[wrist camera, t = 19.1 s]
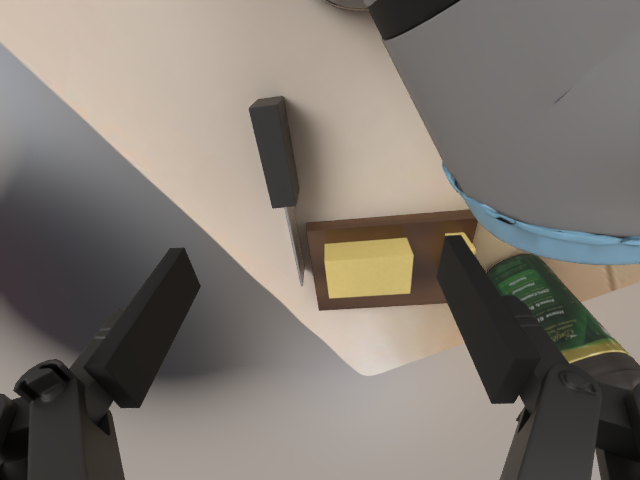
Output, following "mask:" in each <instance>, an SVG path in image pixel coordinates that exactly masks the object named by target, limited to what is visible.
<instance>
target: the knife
mask: <svg viewBox="0 0 640 480" xmlns="http://www.w3.org/2000/svg"><path fill="white" fill-rule="evenodd" d="M249 112H250V116H251V121H252V125H253V129H254V133H255V137H256V142H257V146H258V150H259V154H260V158H261V163H262V167H263V171H264V175H265V179H266V184H267V188H268V192H269V196H270V200H271V205H272V208H282V207H284V208H285V213H286V217H287V222H288V227H289V232H290V236H291V241H292V246H293V250H294V255H295V260H296V265H297V269H298V274H299V279H300V284H301V286H303V280H304V269H305V268H304V263H303V257H302V252H301V247H300V242H299V237H298V232H297V226H296V221H295V216H294V211H293V206H296V205H297V199H298V193H299V184H298V178H297V173H296V167H295V161H294V155H293V149H292V144H291V138H290V132H289V126H288V120H287V115H286V109H285V103H284V97H283V96H280V97H272V98H264V99H258V100H257V101H256V102H255V103H254V104H253V105H252V106H251V107H249Z"/></svg>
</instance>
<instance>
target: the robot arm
mask: <svg viewBox="0 0 640 480" xmlns="http://www.w3.org/2000/svg"><path fill="white" fill-rule="evenodd" d="M323 1H325V2H326V3H329V4H331V5H333V6H336V7H339V8H342V9H347V10H355V11H365V10H369V12H370V14H371V16H372V18H373V20H374V22H375V24H376V26H377V28H378V30H379V32H380V34H381V36H382V41H383V43H384V45H385V47H386V49H387V51H388V53H389V55H390V57H391V59H392V61H393V63H394V65H395V67H396V69H397V71H398V73H399V75H400V77H401V79H402V81H403V83H404V85H405V87H406V89H407V91H408V93H409V95H410V97H411V99H412V101H413V103H414V105H415V107H416V109H417V111H418V112H419V114H420V116H421V118H422V120H423V122H424V124H425V126H426V128H427V130H428V132H429V134H430V136H431V138H432V140H433V142H434V144H435V146H436V148H437V150H438V152H439V154H440V156H441V158H442V160H443V170H444V172H445V174H446V176H447V178H448V180H449V182H450V183H451V185H452V186H453V188H454V189H455V190H456V191H457V192H458V193H459V194H460V195H461V196H462V197H463V198H464V200H465V202H466V204H467V205H468V207H469V209H470V210H471V212H472V213H473V215H474V217H475V218H476V219H477V220H478V222H479V223H480V224H481V225H482V226H483V227H485V228H486V229H487V230H488V231H489V232H490V233H492V234H493V235H494V236H496V237H497V238H499V239H500V240H502V241H504V242H506V243H508V244H509V245H511V246H514V247H516V248H518V249H521V250H523V251H526V252H529V253H532V254H535V255H538V256H542V257H545V258H550V259H555V260H560V261H566V262H573V263H580V264H593V265H629V264H640V0H323ZM436 278H437V280H438V282H439V285H440V287H441V289H442V292H443V294H444V296H445V298H446V301H447V303H448V305H449V308H450V310H451V312H452V314H453V317H454V319H455V321H456V324H457V326H458V328H459V330H460V333H461V335H462V337H463V340H464V342H465V344H466V346H467V349H468V351H469V353H470V355H471V358H472V360H473V362H474V365H475V367H476V369H477V371H478V374H479V376H480V378H481V380H482V383H483V385H484V387H485V390H486V392H487V394H488V396H489V399H490V401H491V403H492V404H501V403H503V404H504V403H514V402H515V401H516V399H517V397H518V396H519V395H520V397H521V399H522V401H523V402H524V405H525V407H524V408H523V410H522V412H521V413H520V414H519V416H518V418H517V419H516V421H518V425H517V428H516V431H515V435H514V438H513V441H512V444H511V447H510V450H509V453H508V456H507V459H506V462H505V465H504V468H503V471H502V474H501V477H500V480H591V474H592V466H593V460H594V452H595V449H596V455H597V460H598V466H599V471H600V476H601V480H640V384H637V385H636V386H635V387H634V388H633V389H632V390H628V389H624V388H620V387H616V386H613V385H609V384H605V383H601V382H598V381H596V380H595V379H594V378H593V377H592V376H591V375H590V374H588V373H587V372H586V371H584V370H582V369H581V368H579V367H577V366H574V365H571V364H570V363H569V362H568V361H567V360H566V358H565V357H564V356H563V354H562V353H561V351H560V350H559V349H558V347H557V346H556V344H555V343H554V342H553V340H552V339H551V338H550V336H549V335H548V333H547V332H546V331H545V329H544V328H543V327H541V324H540V322H539V321H538V320H537V318H535V317H534V314H533V313H532V311H531V310H530V309H529V307H528V306H527V305H526V304H525V303H524V302H523V301H521V300H520V299H519V298H517V297H516V296H515V295H502V296H501V295H500V294H499V292H498V291H497V289H496V288H495V286H494V285H493V283H492V282H491V280H490V278H489V277H488V275H487V274H486V272H485V271H484V269H483V268H482V266H481V265H480V263H479V262H478V260H477V258H476V257H475V255H474V254H473V252H472V251H471V249H470V248H469V246H468V245H467V243H466V242H465V240H464V239H463V237H462V235H447V236H445V238H444V243H443V248H442V253H441V257H440V262H439V267H438V272H437V277H436ZM199 289H200V284H199V281H198V279H197V277H196V275H195V272H194V270H193V267H192V265H191V263H190V260H189V258H188V255H187V253H186V250H185V248H170V249H169V250H168V252H167V253H166V254H165V256H164V257H163V259H162V260H161V261H160V263H159V264H158V265H157V267H156V268H155V269H154V271H153V272H152V274H151V275H150V277H149V278H148V279H147V280H146V282H145V283H144V285H143V286H142V287H141V289H140V290H139V291H138V293H137V294H136V296H135V297H134V298H133V300H132V301H131V302H130V304H129V305H128V306H127V308H126V309H119V310H118V311H117V312H115V313H114V314H113V315H112V316H110V317H109V318H108V319H107V321H106V322H105V323H104V324H103V326H102V327H101V328H100V331H98V332H97V334H96V335H95V336H94V337H93V340H91V341H90V342H89V344H88V345H87V346H86V348H85V349H84V350H83V352H82V353H81V354H80V355H79V357H78V358H77V359H76V361H75V362H74V363H73V365H72V366H71V367H70V368H69V369H68V368H67V367H66V366H65V365H64V364H63V362H61V361H60V360H57V359H53V360H48V361H45V362H42V363H39V364H38V365H36V366H34V367H33V368H31V369H29V370H28V371H27V372H26V373H25V374H24V375H22V376H21V378H20V379H19V380H18V381H17V383H16V384H15V387H14V390H13V391H14V392H16V393H17V394H18V395H20V396H21V397H20V398H16V399H13V400H11V399H10V398H8V397H7V396H6V395H4V394H0V480H125V478H124V473H123V468H122V463H121V458H120V453H119V447H118V442H117V437H116V432H115V427H114V422H113V417H112V414H111V412H110V410H109V407H110V405H111V404H112V402H113V400H114V401H115V402H116V403H117V404H118V406H119V407H120V408H140V406H141V404H142V402H143V400H144V398H145V396H146V394H147V392H148V390H149V388H150V386H151V384H152V382H153V380H154V378H155V376H156V374H157V372H158V370H159V368H160V366H161V364H162V362H163V360H164V358H165V356H166V354H167V353H168V351H169V349H170V346H171V345H172V343H173V340H174V338H175V337H176V334H177V332H178V330H179V329H180V327H181V324H182V323H183V321H184V319H185V317H186V315H187V313H188V311H189V309H190V307H191V305H192V303H193V301H194V299H195V297H196V295H197V293H198V291H199Z"/></svg>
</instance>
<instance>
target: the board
mask: <svg viewBox="0 0 640 480" xmlns="http://www.w3.org/2000/svg"><path fill="white" fill-rule="evenodd" d="M477 222H478V220H477V219H476V218H475V217H474V215H473V213H472V212H471V210H459V211H447V212H435V213H422V214H410V215H398V216H386V217H374V218H361V219H349V220H337V221H325V222H313V223H307V231H306V232H307V238H308V244H309V251H310V257H311V263H312V269H313V276H314V282H315V288H316V295H317V301H318V307H319V311H321V310H338V309H355V308H372V307H389V306H406V305H422V304H439V303H447V301H446V298H445V296H444V294H443V292H442V289H441V287H440V285H439V282H438V280H437V278H436V277H437V272H438V267H439V262H440V257H441V253H442V248H443V243H444V238H445V233H459V232H464V233H465V234H466V236H467V237H468V239H469V240H470V242H471V243H473V239H474V235H475V230H476V226H477ZM396 238H407V240H408V242H409V245H410V247H411V250H412V252H413V255H414V257H413V268H412V279H411V289H410V293H409V294H393V295H377V296H361V297H345V298H329V294H328V286H327V278H326V270H325V262H324V259H325V244H330V243H343V242H356V241H370V240H383V239H396Z"/></svg>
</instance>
